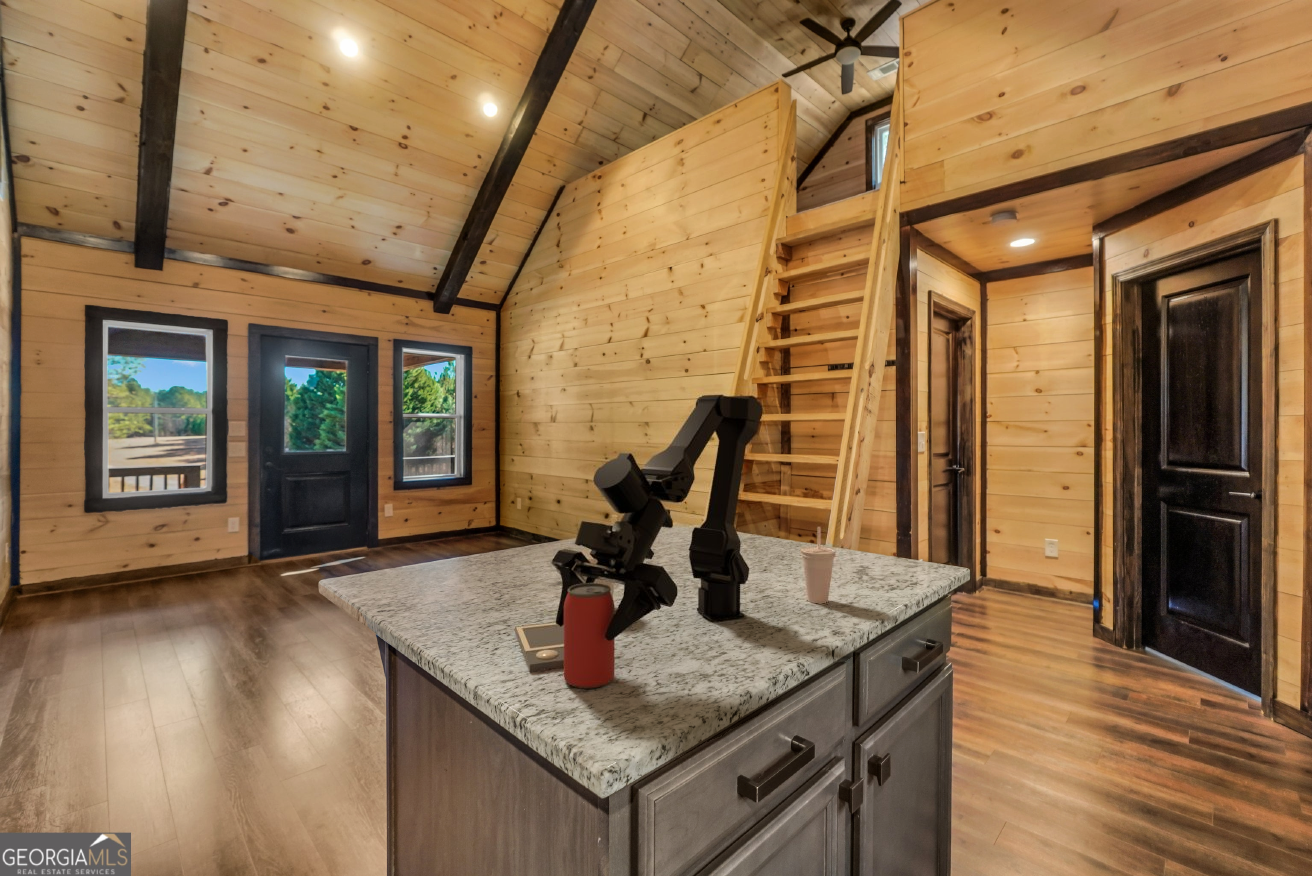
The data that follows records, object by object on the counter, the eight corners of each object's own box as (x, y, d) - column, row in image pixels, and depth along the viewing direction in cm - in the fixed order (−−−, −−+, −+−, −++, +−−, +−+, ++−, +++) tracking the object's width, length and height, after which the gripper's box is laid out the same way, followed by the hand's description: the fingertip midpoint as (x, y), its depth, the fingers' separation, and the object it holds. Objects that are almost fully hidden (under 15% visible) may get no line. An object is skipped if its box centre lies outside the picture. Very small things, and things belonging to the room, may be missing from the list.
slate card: (576, 625, 98) (576, 618, 98) (601, 661, 83) (601, 653, 83) (515, 632, 95) (514, 625, 95) (529, 671, 80) (529, 663, 80)
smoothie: (839, 599, 113) (840, 526, 113) (829, 608, 108) (830, 531, 107) (806, 594, 117) (807, 523, 116) (795, 602, 111) (796, 528, 111)
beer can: (593, 695, 73) (593, 598, 73) (553, 682, 76) (553, 590, 76) (624, 676, 78) (624, 586, 78) (585, 665, 82) (585, 579, 82)
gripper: (560, 493, 86) (499, 585, 77) (665, 503, 75) (607, 612, 66) (597, 539, 92) (544, 629, 84) (698, 555, 81) (649, 660, 72)
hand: (581, 631), depth 76 cm, fingers open, 8 cm apart
